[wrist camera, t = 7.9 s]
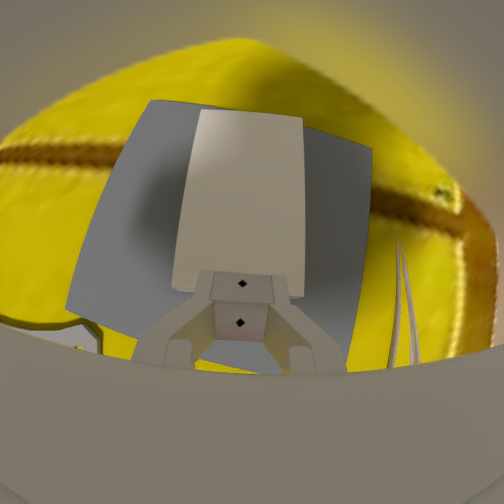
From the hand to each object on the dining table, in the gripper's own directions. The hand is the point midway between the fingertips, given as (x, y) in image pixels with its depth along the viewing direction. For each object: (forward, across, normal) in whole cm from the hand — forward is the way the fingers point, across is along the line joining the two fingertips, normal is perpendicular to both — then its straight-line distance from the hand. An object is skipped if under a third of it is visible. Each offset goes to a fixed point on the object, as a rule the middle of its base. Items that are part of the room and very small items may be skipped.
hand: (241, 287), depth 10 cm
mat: (+9, +1, +2) cm, 9 cm away
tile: (+4, 0, +4) cm, 5 cm away
